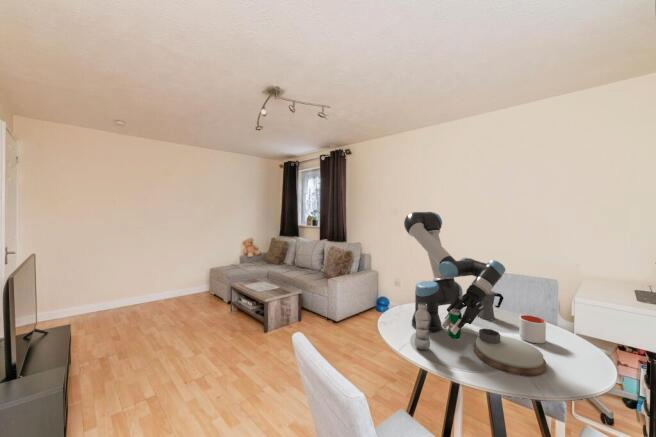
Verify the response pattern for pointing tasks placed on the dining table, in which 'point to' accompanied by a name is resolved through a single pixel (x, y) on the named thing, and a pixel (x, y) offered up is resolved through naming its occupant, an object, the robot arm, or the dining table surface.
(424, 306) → the plastic bottle
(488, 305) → the coffeepot
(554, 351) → the dining table surface
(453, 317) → the soda can
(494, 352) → the dial
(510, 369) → the base
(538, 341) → the cup
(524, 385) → the dining table surface
